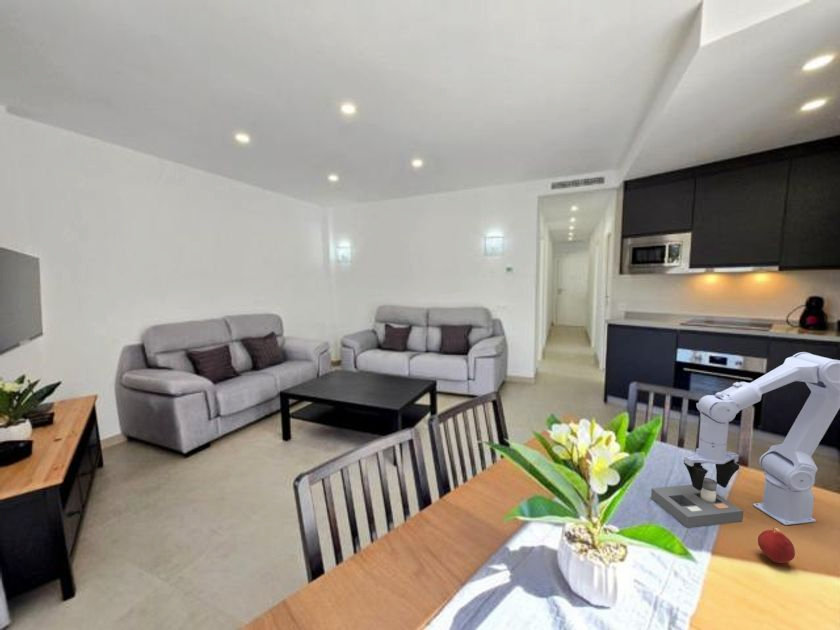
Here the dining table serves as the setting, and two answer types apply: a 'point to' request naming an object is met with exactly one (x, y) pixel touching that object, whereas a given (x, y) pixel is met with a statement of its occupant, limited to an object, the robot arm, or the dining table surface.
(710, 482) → the plug
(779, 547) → the red rounded oval piece
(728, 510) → the socket panel
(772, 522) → the dining table surface
